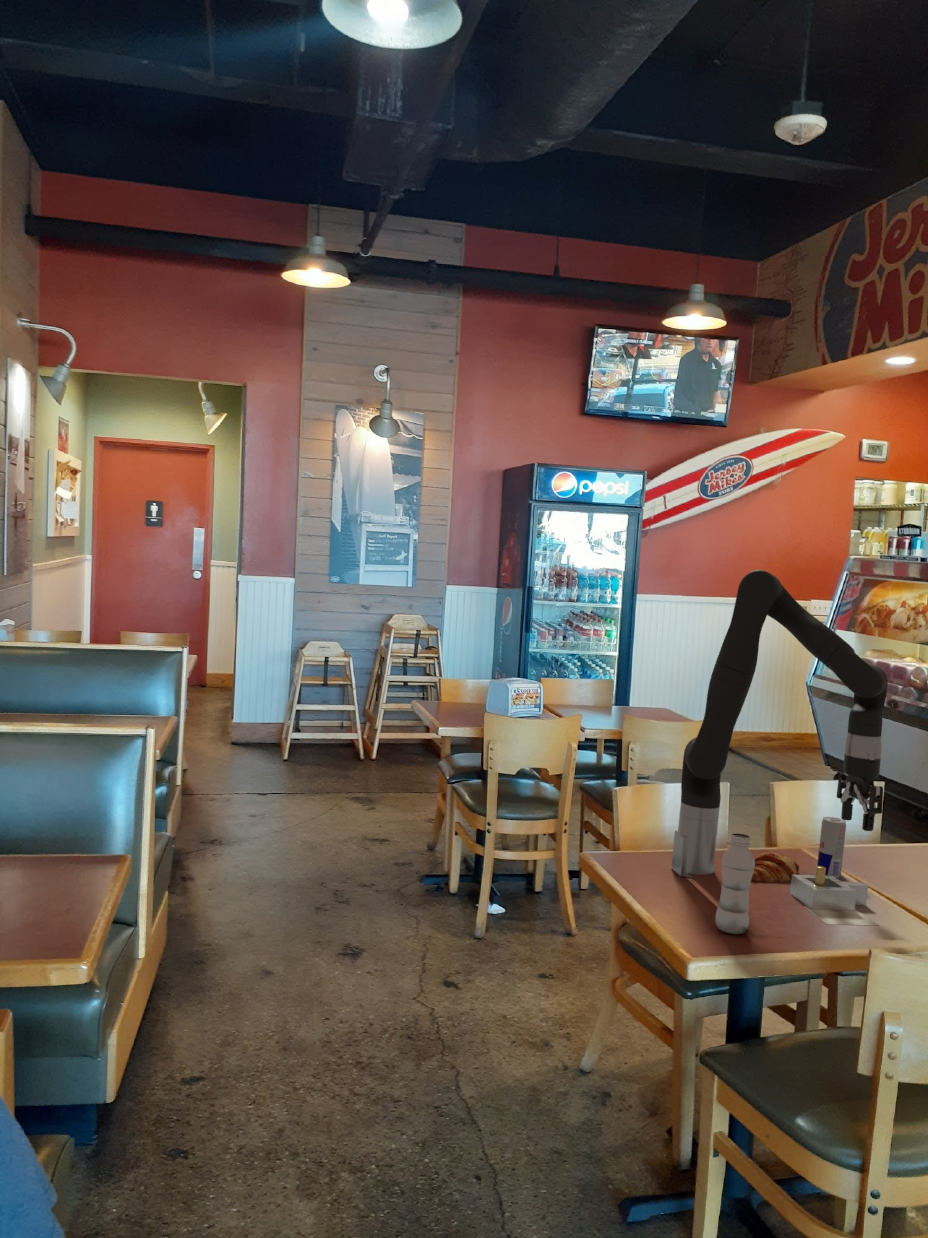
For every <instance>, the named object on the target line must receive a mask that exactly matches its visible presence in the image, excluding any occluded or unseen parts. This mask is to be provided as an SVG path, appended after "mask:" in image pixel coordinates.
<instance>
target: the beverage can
mask: <svg viewBox="0 0 928 1238" xmlns="http://www.w3.org/2000/svg"><path fill="white" fill-rule="evenodd" d="M846 823H847V820H843V819H842V818H839V817H834V816H823V817H822V820H821V826H820V827H821V828H820V835H819V836H820V838H819V847H818V855H817V856H818V858H817V865H816V866H822V867H825V868H826V871H825V876H834V877H835V878H837V879H838V878H840V877H842V868H843V859H844V857H843V856H844V849H845V841H846V840H845V839H846V831H847V830H846V829H847V824H846Z"/></svg>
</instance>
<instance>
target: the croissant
mask: <svg viewBox="0 0 928 1238" xmlns="http://www.w3.org/2000/svg"><path fill="white" fill-rule="evenodd" d="M754 860H755V868H754V871H753V875H752V879H751V881H753V882H766V883H767V882H786V881H791V879H792V874H794V875H798V873H799V870H800V867H801V865H800V863H799V862H796V861H795V860H794V859H792V858H790V857H787V856H785V855H783V854H778V853H775V852H764V853H760V854H759V855H758V856H755V858H754Z"/></svg>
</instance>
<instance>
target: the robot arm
mask: <svg viewBox="0 0 928 1238" xmlns="http://www.w3.org/2000/svg"><path fill="white" fill-rule="evenodd" d="M767 616H768V617H770V618H771V619H773V620H775V622H778V623H779V624H780V625H781V626H783V627H784V628H785V629H786V630H787V631H788V632H789V633H790V634H792V635H793V637H794V638H795V640H797V641H798V642H799V643H800V644H801V645H802V646H803V647H804V648H805V649H806V650H807V651H808V652H809V653H811V655H812V656H814V657H815V658H816V659H817V660H819V662H821V663H822V664H823V665H824V666H825V667H826V668H828V669H829V670H831V672H833V674H835V676H836V677H837V679H839V680H840V681H841V683H842V684H844V685H845V686H846V687H847V688H848V689H849V691H851V692H852V693H853V702H852V707H851V709H850V711H849V715H848V722H847V723H848V724H847V733H846V738H845V743H844V744H845V746H844V755H843V757H844V758H843V768H842V770H843V772H841V773H839V774H838V781H837V788H836V789H837V790H836V798H837V799H840V802H841V804H842V805H841V818H840V819H843V820H845V821H852V818H853V807H854V804H853V803H854V802H855V800H857V801H858V803H859V805H861V806H862V810H863V812H864V813H863V815H862V817H863V818H862V830H863V831H865V832H873V831H874V825H875V817H876V815H877V814H878V815H881V814H882V813H883V804H884V803H883V799H884V787H883V786H882V785H881V786H879V785H875V782H874V781H875V779H876V778H879V776H880V772H881V758H882V748H883V746H882V743H883V742H882V734H883V731H882V730H883V715H884V714H883V713H884V709H885V708H884V707H885V703H886V699H887V693H888V685H889V682H888V677H887V674H886V672H885V671H884V670H883V669H882V668H881V667H879V666H876V665H870V664H869V663H867V662H866V661H865V660H864V659H863V658H861V657H860V656H859V655H858V654H857V653H856V651H855V649H854V648H853V647H852V646H851V644H849V643H848V642H847V641H845V640H844V639H843V638H842V637H841V636H840V635H838V634H837V633H836V632H835V631H833V630H832V629H831V628H830V627H828V626H827V625H826V624H825V623H823V622H822V621H820V620H819V619H818V618H816V617H815V616H814V615H813V614H811V613H810V612H809V611H808V610H806V609H805V608H804V607H803V606H802V605H801V604H799V602H798V601H796V599H794V597H793V596H792V595H791V593H790V592H789V591H788V590H787V589H786V588H785V587H784V585H783V584H782V583H781V582H780V579H779V578H778V577H776V576H775V575H774V574H772V573H770V572H769V571H766V570H763V569H756V570H755V569H754V570H751V571H749V572H748V573H746V574H745V575H744V577H742V578H741V581H740V582H739V585H738V588H737V593H736V598H735V603H734V608H733V612H732V616H731V621H730V624H729V626H728V629H727V632H726V633H725V636H724V639H723V642H722V644H721V646H720V650H719V653H718V656H717V658H716V660H715V663H714V666H713V667H714V668H713V669H712V671H711V676H710V678H709V684H708V689H707V694H706V701H705V703H706V704H705V712H704V715H703V720H702V722H701V726H700V728H699V730H698V733H697V735H696V737H694V738H692V739H690V741H688V743H687V744H686V746H685V748H684V753H683V756H682V758H683V760H682V771H681V787H680V788H681V789H680V790H681V791H680V793H681V795H680V806H679V807H680V808H679V817H678V827H677V830H675V831H674V836H673V848H672V856H671V857H672V858H671V869H672V871H674V873H676V874H677V875H678V876H679V877H684V878H685V877H686V878H691V879H693V877H692V875H699V876H706V875H707V876H708V875H712V874H713V873H714V870H715V862H716V861H715V858H716V848H717V838H718V828H719V826H718V825H719V817H720V809H721V808H720V807H721V799H722V796H721V778H722V777H721V775H722V772H723V770H725V767H726V765H727V760H728V754H729V751H730V747H731V741H732V736H733V732H734V731H735V730H734V729H735V726H736V723H737V721H738V719H739V716H740V714H741V712H742V709H743V706H744V704H745V701H746V698H747V696H748V693H749V690H750V688H751V684H752V682H753V679H754V676H755V672H756V668H757V664H758V657H759V656H758V655H759V650H760V649H759V645H760V638H761V633H762V629H763V627H764V624H765V621H766V619H767Z"/></svg>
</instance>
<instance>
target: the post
mask: <svg viewBox="0 0 928 1238" xmlns="http://www.w3.org/2000/svg"><path fill="white" fill-rule="evenodd" d="M825 871H826V868H825V867H822V866H817V865H816V866H815V873H814V874H815V885H816V886H818V887H824V881H825Z"/></svg>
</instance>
